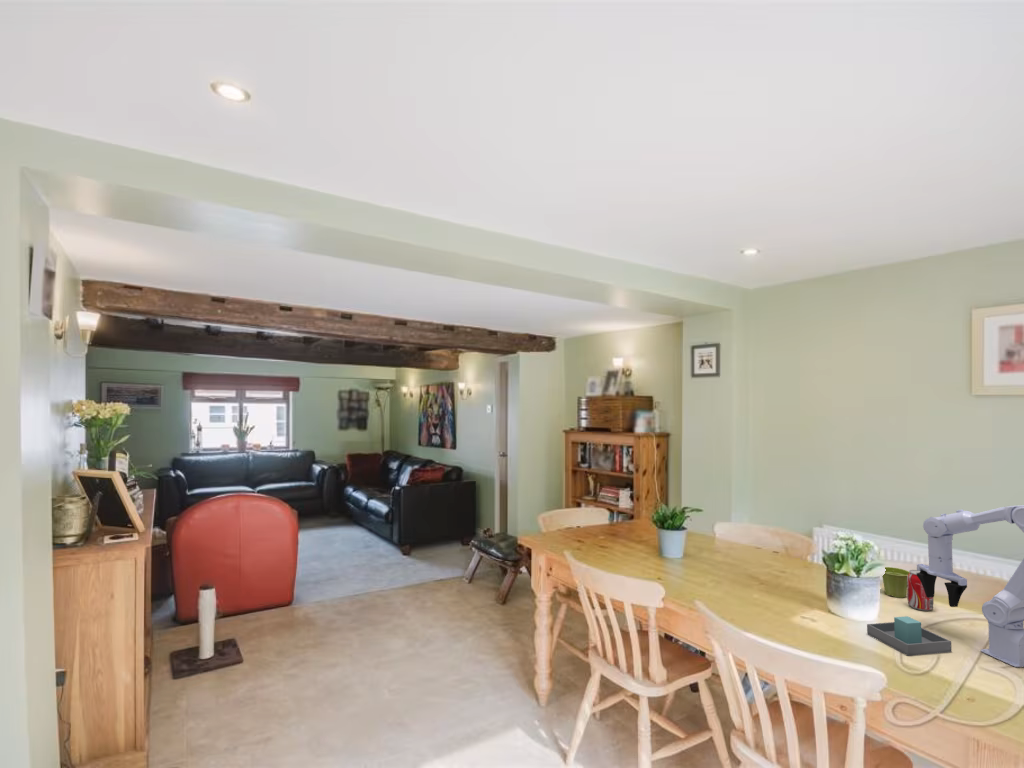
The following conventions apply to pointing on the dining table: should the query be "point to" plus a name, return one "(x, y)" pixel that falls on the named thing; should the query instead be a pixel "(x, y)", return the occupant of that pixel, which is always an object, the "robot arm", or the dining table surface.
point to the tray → (928, 646)
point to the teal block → (907, 630)
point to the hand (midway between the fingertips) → (941, 601)
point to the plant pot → (895, 582)
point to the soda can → (917, 593)
